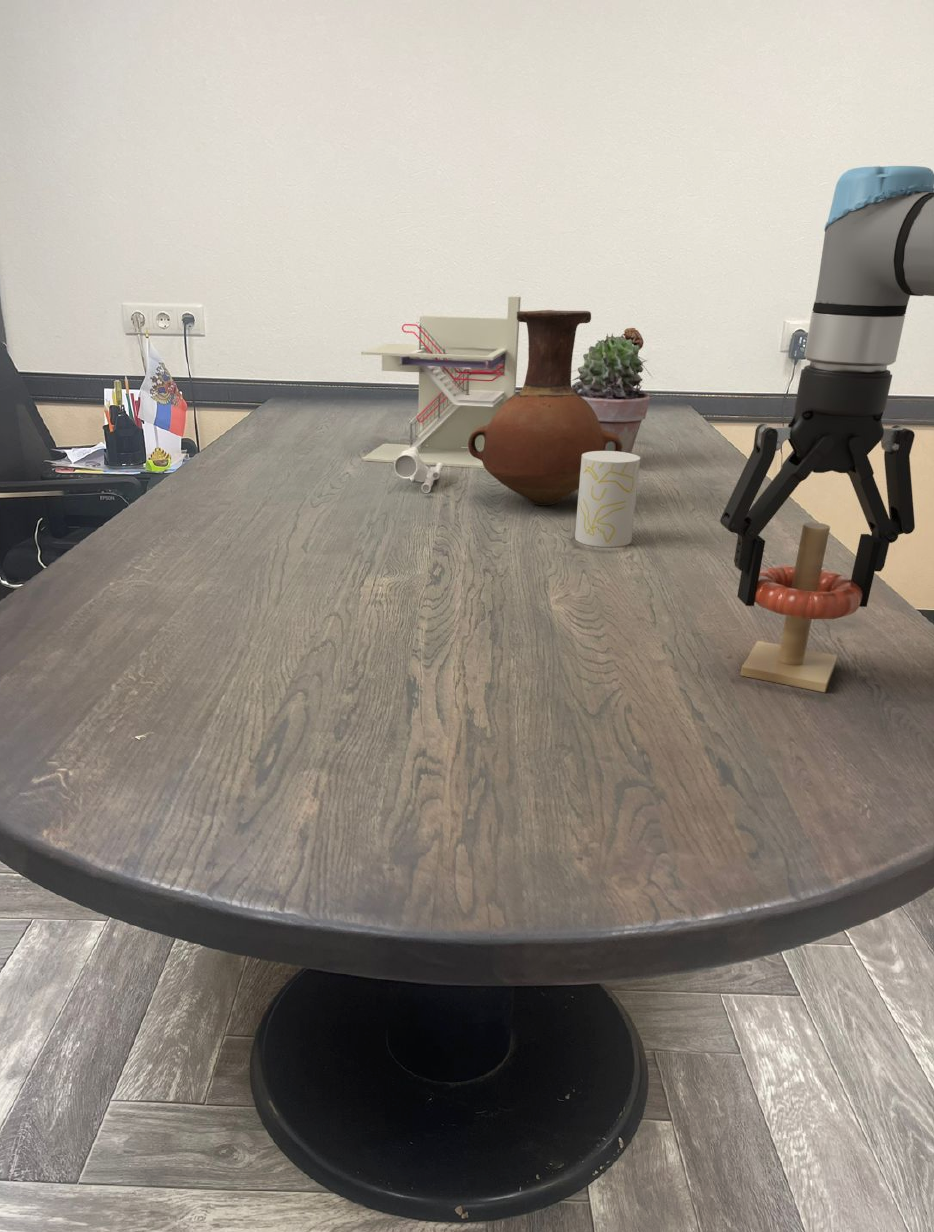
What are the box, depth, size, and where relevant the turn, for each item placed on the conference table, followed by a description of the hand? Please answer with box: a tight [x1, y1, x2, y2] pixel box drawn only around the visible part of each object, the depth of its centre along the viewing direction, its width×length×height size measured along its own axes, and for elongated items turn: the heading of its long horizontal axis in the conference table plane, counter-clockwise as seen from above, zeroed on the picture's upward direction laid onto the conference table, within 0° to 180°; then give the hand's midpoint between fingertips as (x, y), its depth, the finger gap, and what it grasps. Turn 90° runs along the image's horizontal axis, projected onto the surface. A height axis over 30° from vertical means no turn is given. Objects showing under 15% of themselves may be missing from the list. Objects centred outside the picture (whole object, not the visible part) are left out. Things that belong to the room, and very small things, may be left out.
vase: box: [468, 309, 622, 506], centre depth 152 cm, size 25×20×30 cm
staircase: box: [360, 296, 521, 469], centre depth 184 cm, size 28×18×30 cm, turn 76°
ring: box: [755, 565, 863, 620], centre depth 93 cm, size 10×10×3 cm
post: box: [740, 521, 839, 693], centre depth 93 cm, size 8×8×15 cm
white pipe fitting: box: [393, 447, 444, 494], centre depth 169 cm, size 8×14×5 cm
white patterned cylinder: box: [574, 451, 641, 548], centre depth 136 cm, size 8×8×12 cm
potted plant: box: [571, 327, 659, 454], centre depth 182 cm, size 18×20×25 cm
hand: (801, 601), depth 93 cm, fingers closed on ring, 10 cm apart
